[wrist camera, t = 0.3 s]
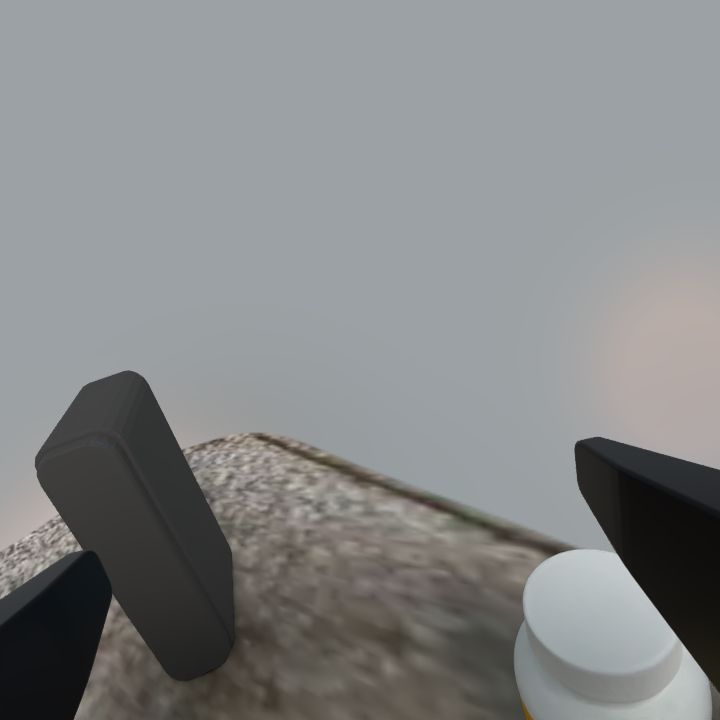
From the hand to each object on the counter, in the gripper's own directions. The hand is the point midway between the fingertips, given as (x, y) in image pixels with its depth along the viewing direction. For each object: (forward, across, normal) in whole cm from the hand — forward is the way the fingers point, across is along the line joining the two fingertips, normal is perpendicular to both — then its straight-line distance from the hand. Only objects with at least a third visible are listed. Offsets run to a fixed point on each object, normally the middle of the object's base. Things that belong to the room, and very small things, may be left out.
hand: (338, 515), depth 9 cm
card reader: (+17, +12, +16) cm, 26 cm away
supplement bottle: (+4, -7, +16) cm, 18 cm away
